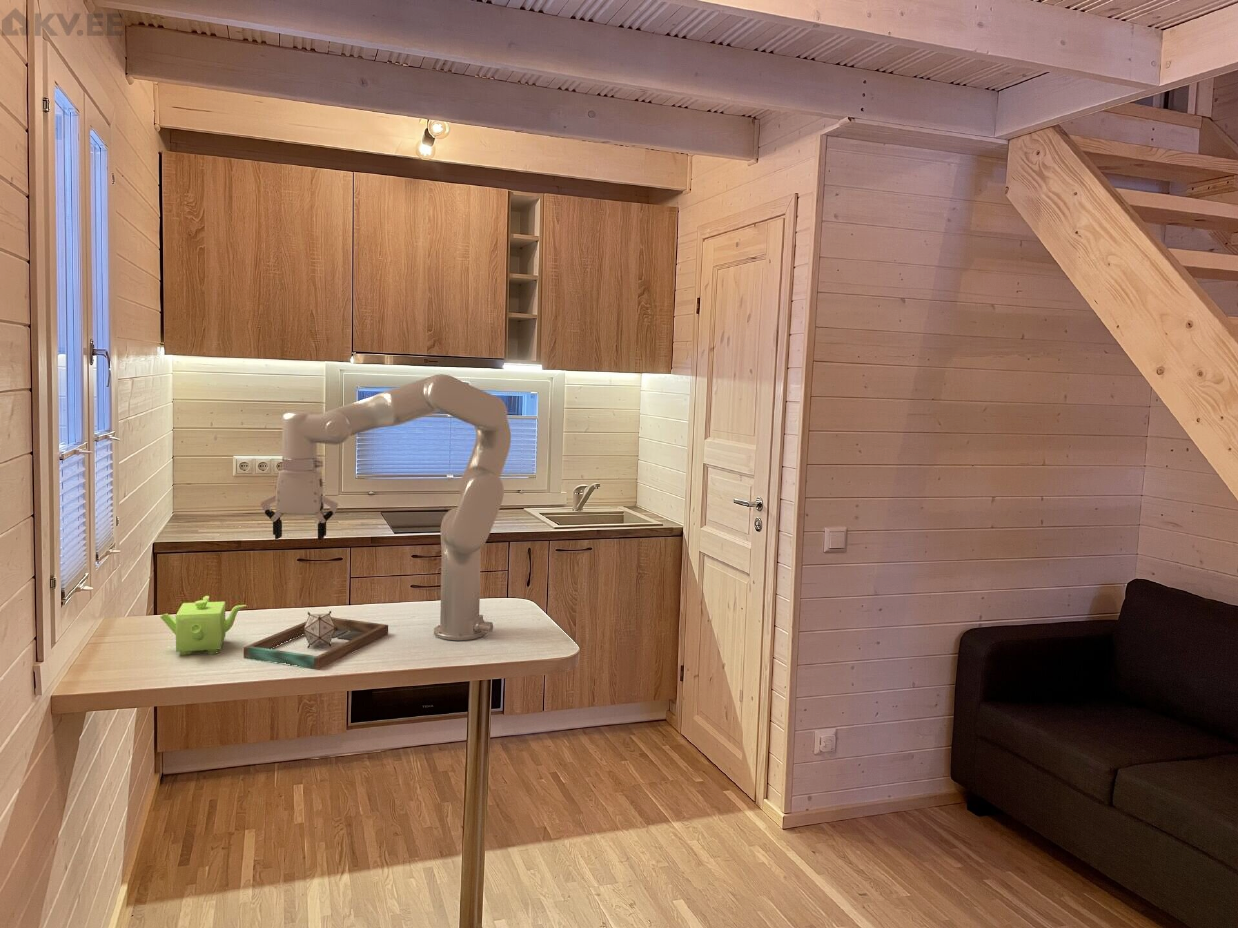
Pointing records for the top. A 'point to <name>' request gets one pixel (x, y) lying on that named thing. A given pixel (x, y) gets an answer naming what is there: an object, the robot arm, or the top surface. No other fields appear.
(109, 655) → the top surface
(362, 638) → the shallow open wooden box
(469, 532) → the robot arm
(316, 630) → the game die
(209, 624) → the kettle
